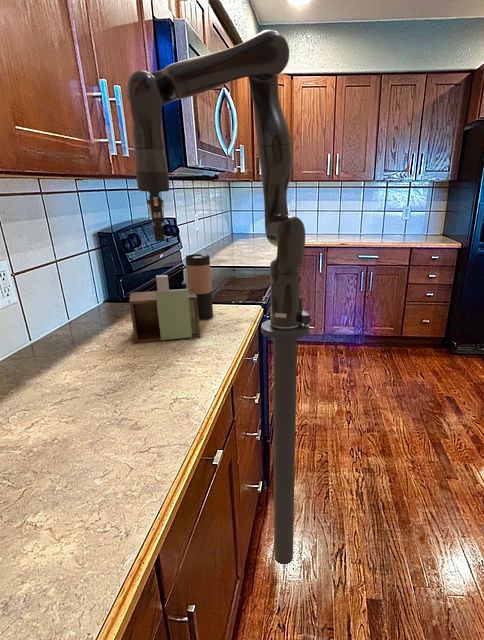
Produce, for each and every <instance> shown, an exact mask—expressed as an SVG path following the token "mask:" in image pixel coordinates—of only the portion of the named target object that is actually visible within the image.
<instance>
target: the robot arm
mask: <svg viewBox="0 0 484 640" xmlns="http://www.w3.org/2000/svg"><path fill="white" fill-rule="evenodd" d="M289 60H290V47H289V44H288V42H287V39H286V38H285V36H284V35H282V34H281V33H280V32H278V31H276V30H273V29H265V30H263V31H260V32H259V33H257V34H256V35H255V36H253V37H252V38H250V39H248V40H246V41H244V42H241V43H239V44H237V45H234V46H231V47H229V48H226V49H221V50H219V51H215V52H211V53H208V54H204V55H199V56H195V57H191V58H188V59H184V60H180V61H177V62H173V63H171V64H168V65H166V66H165V67H164V68H163V69H160V70H156V71H154V72H149V71H147V70H145V69H141V70H140V69H139V70H136V71H133V72H132V73H131V74H130V75H129V76H128V79H127V83H126V91H125V92H126V97H127V99H128V101H129V105H130V113H131V119H132V125H131V134H132V143H133V150H134V151H133V152H134V155H133V156H134V157H133V160H134V167H135V176H136V184H137V190H138V191H139V192H147V193H149V196H148V199H146V203H147V205H146V206H147V208H148V214H149V217H150V218H151V224H152V227H153V228H152V229H153V236H154V240H155V242H164V241H165V234H164V224H165V220H164V218H165V211H164V208H165V202H164V201H165V200H164V199H163V198H162V197H161V196H160V193H161V192H163V193H165V192H169V191H170V179H169V169H168V168H169V167H168V159H167V155H166V150H165V141H164V140H165V139H164V132H163V125H162V123H163V122H162V120H163V119H162V117H163V116H162V115H163V114H162V107H163V106H165V105H167V104H171V103H172V102H174V101H179V100H183V99H187V98H191V97H194V96H197V95H200V94H201V95H202V94H204V93H207V92H209V91H212V90H214V89H217V88H219V87H222V86H224V85H226V84H229V83H231V82H234V81H238V80H240V79H244V78H247V79H248V83H249V88H250V93H251V97H252V104H253V115H254V123H255V124H254V125H255V134H256V145H257V146H256V147H257V154H258V163H259V167H260V177H261V183H262V184H261V186H262V193H263V201H264V202H263V203H264V204H263V205H264V207H263V208H264V232H265V237H266V239H267V241H268V242H269V244H270V245H272V246H274V247H276V258H275V259H274V260H272V261H271V262H270V265H269V266H270V267H269V275H270V276H269V277H270V280H269V282H270V283H269V284H270V289H269V291H270V320H271V322H270V326H271V327H272V328H274V329H278V330H293V329H297V328H299V327H302V324H304V325H305V326H306V325H308V324H309V325H310V323H311V322H312V318H311V315H310V314H309V312H307V311H305V310H303V300H304V299H303V297H302V296H301V287H302V285H301V283H302V281H301V280H302V265H303V264H304V260H305V251H306V250H305V248H306V228H305V225H304V222H303V220H302V219H301V218H299V217H297V216H295V215H289V207H288V200H287V199H288V188H289V185H290V182H291V178H292V177H291V176H292V172H293V167H294V154H293V144H292V135H291V131H290V128H289V125H288V122H287V119H286V117H285V115H284V112H283V109H282V105H281V99H280V88H279V75H280V74H281V73H282V72H283V71H285V69H286V67H287V66H288V63H289Z"/></svg>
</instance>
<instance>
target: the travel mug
mask: <svg viewBox="0 0 484 640" xmlns="http://www.w3.org/2000/svg"><path fill="white" fill-rule="evenodd" d="M185 267H186V268H185V269H186V279H187V281H186V282H187V289H194V292H195V294H196V296H197V303H198V316H199V321H201V320H209V319H212V318H213V317H214V316H213V315H214V307H213V286H212V274H211V273H212V271H211V261H210V255H209V254H206V255H202V254H200V253H194V254H188V255H186V256H185Z"/></svg>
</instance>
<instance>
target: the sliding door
mask: <svg viewBox="0 0 484 640" xmlns="http://www.w3.org/2000/svg"><path fill="white" fill-rule="evenodd" d="M155 281H156V288H157V290H154V291H155V293H156V301H157V310H158V318H159V326H160V335H161V340H162V341H169V340H168V339H173V340H180V339H179V338H183V339H190V338H189V337H192V331H191V319H190V308H189V296H188V288H181V289H170V286H169V285H170V284H169V276H168V274H161V275H159V274H158V275H155Z"/></svg>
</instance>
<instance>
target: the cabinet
mask: <svg viewBox="0 0 484 640" xmlns="http://www.w3.org/2000/svg"><path fill="white" fill-rule="evenodd" d="M187 289H188V288H187ZM155 291H156V290H153V291H151V290H150V291H135V292H129V293H130V294H129V301H128V302H129V309H130V316H131V323H132V329H133V336H134V337H133V338H134V343H135V344H141V343H149V342H150V343H151V342H161V341H163V340H161V335H160V326H159V318H158V310H157V301H156V293H155ZM188 296H189V308H190V319H191V331H192V337H189V338H188V339H192V338H193V339H195V338H200V337H201V331H200V320H199V316H198V303H197V296H196V294H195V292H194V289H188ZM183 339H184V338H179V339H178V340H183ZM171 340H172V341H173V340H174V339H168V340H167V341H171Z"/></svg>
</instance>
